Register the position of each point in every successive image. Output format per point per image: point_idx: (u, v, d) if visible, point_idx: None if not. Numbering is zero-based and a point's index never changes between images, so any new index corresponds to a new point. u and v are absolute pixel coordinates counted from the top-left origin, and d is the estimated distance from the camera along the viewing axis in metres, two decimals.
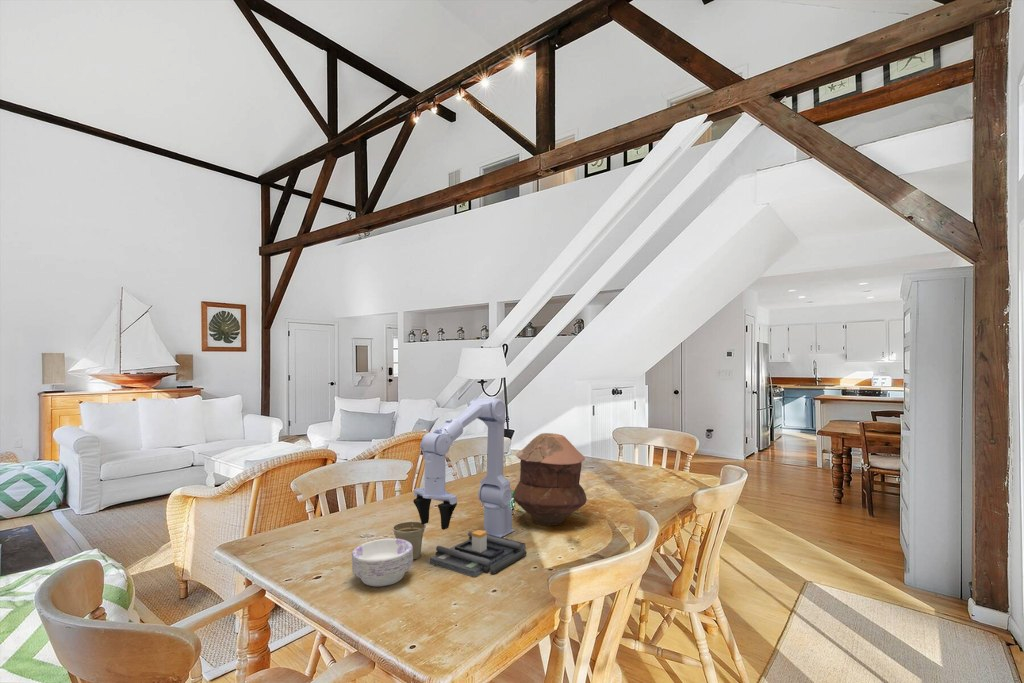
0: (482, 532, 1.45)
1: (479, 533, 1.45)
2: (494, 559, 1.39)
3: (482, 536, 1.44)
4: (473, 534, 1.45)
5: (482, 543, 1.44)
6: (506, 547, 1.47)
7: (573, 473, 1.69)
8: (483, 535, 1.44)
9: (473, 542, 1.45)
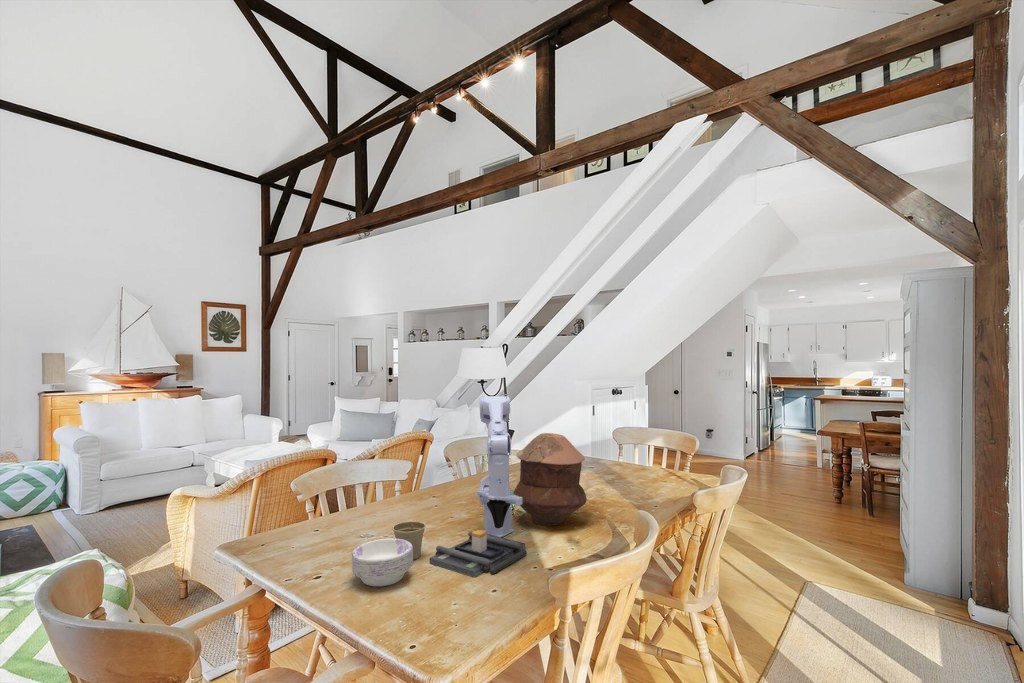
0: (482, 532, 1.45)
1: (479, 533, 1.45)
2: (494, 559, 1.39)
3: (482, 536, 1.44)
4: (473, 534, 1.45)
5: (482, 543, 1.44)
6: (506, 547, 1.47)
7: (573, 473, 1.69)
8: (483, 535, 1.44)
9: (473, 542, 1.45)
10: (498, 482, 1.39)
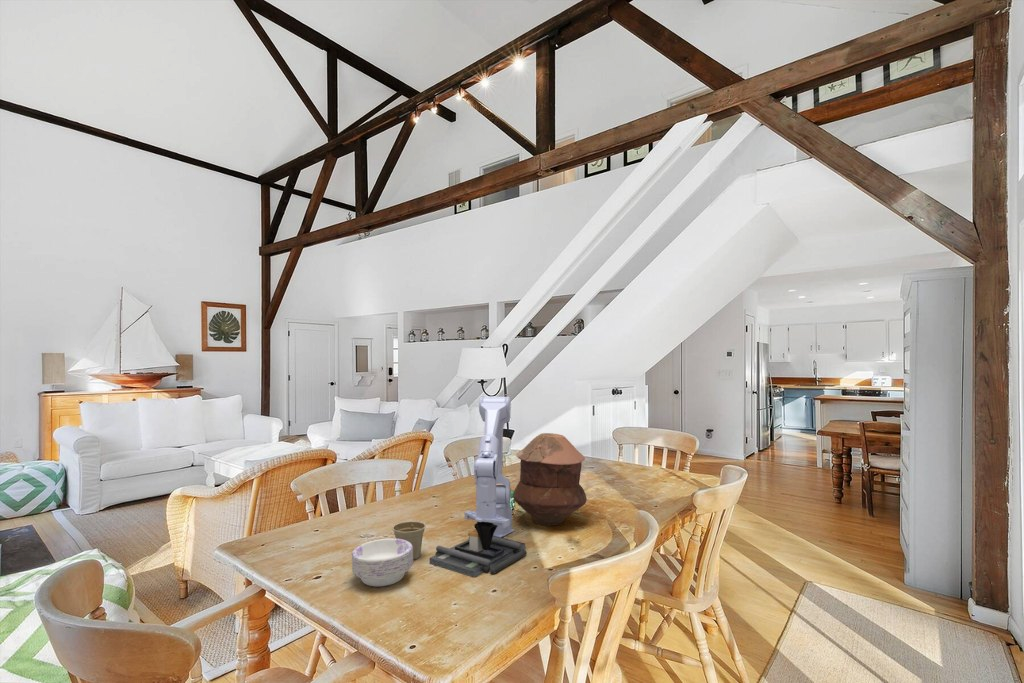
0: None
1: (477, 532, 1.45)
2: (494, 559, 1.39)
3: None
4: (471, 533, 1.45)
5: (480, 542, 1.45)
6: (506, 547, 1.47)
7: (573, 473, 1.69)
8: None
9: (471, 541, 1.45)
10: (485, 504, 1.41)
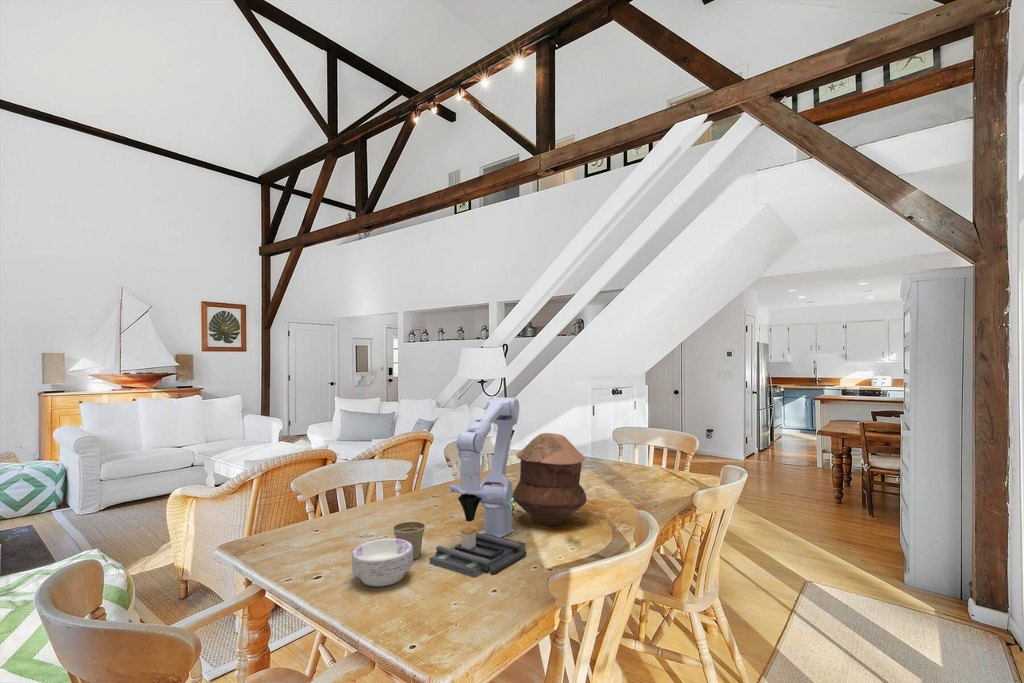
0: (471, 529, 1.48)
1: (468, 530, 1.47)
2: (494, 559, 1.39)
3: (471, 533, 1.46)
4: (462, 531, 1.47)
5: (471, 540, 1.47)
6: (506, 547, 1.47)
7: (573, 473, 1.69)
8: (472, 532, 1.47)
9: (462, 539, 1.47)
10: (469, 477, 1.45)
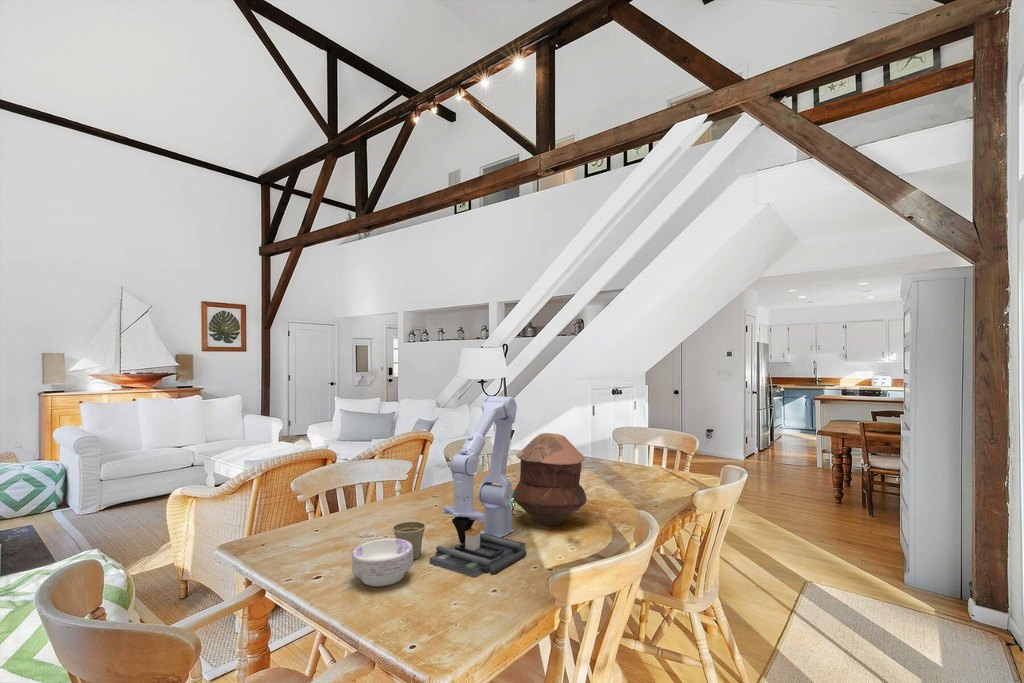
0: (475, 530, 1.47)
1: (472, 531, 1.46)
2: (494, 559, 1.39)
3: (475, 534, 1.45)
4: (466, 532, 1.46)
5: (476, 541, 1.46)
6: (506, 547, 1.47)
7: (573, 473, 1.69)
8: (476, 533, 1.46)
9: (466, 540, 1.46)
10: (462, 500, 1.46)
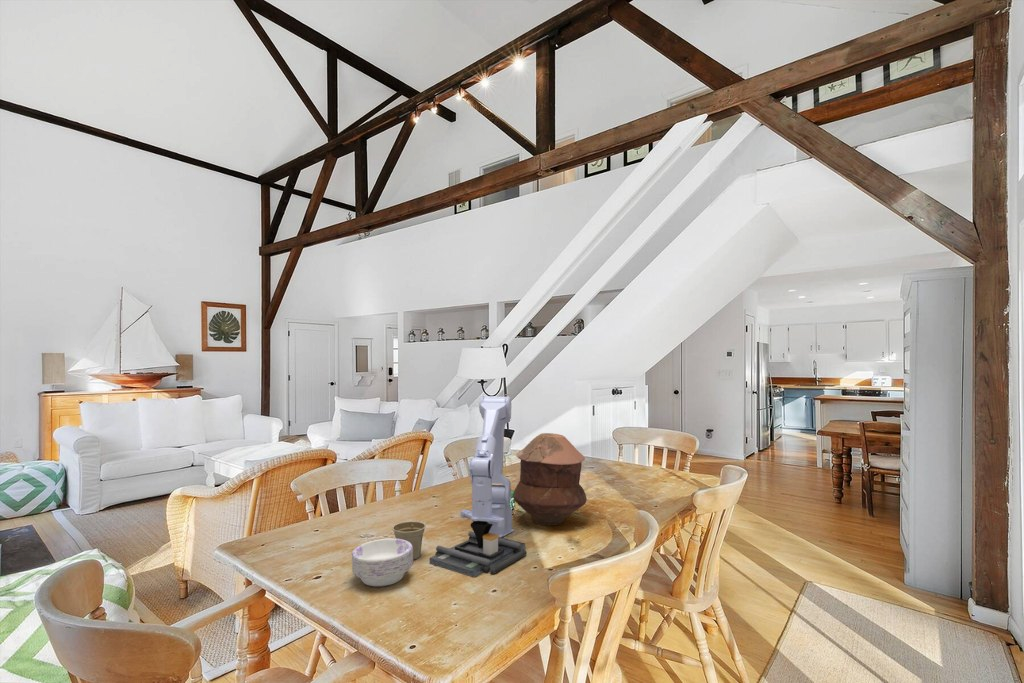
0: (493, 535, 1.43)
1: (490, 536, 1.42)
2: (494, 559, 1.39)
3: (493, 539, 1.42)
4: (484, 537, 1.42)
5: (494, 546, 1.42)
6: (506, 547, 1.47)
7: (573, 473, 1.69)
8: (494, 538, 1.42)
9: (484, 545, 1.42)
10: (481, 503, 1.42)
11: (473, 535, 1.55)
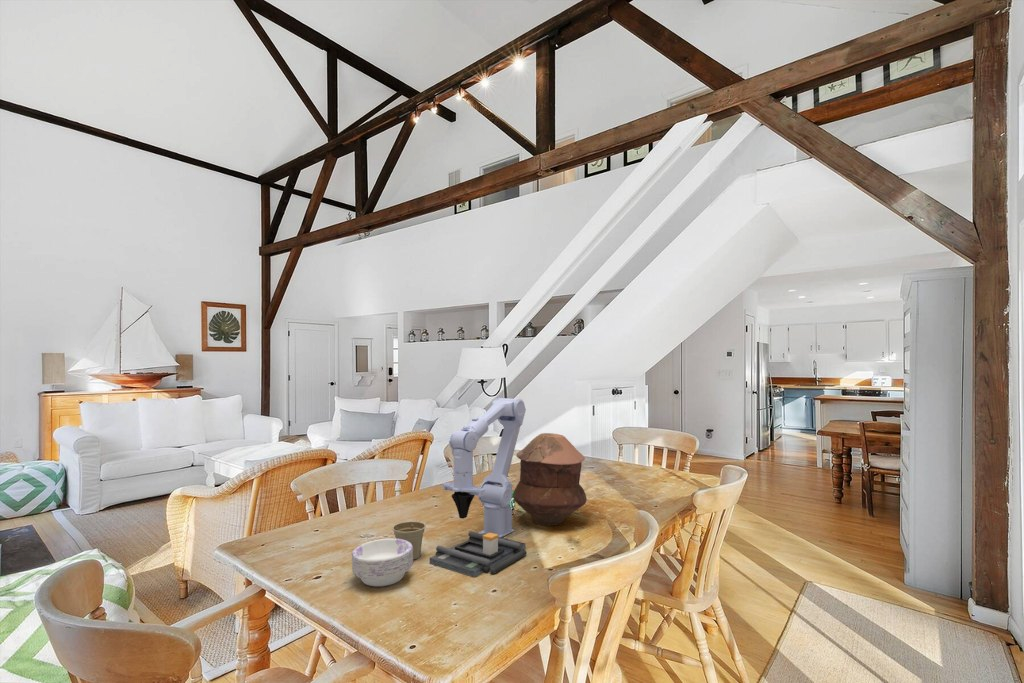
0: (493, 535, 1.43)
1: (490, 536, 1.42)
2: (494, 559, 1.39)
3: (493, 539, 1.42)
4: (484, 537, 1.42)
5: (494, 546, 1.42)
6: (506, 547, 1.47)
7: (573, 473, 1.69)
8: (494, 538, 1.42)
9: (484, 545, 1.42)
10: (462, 475, 1.48)
11: (473, 535, 1.55)
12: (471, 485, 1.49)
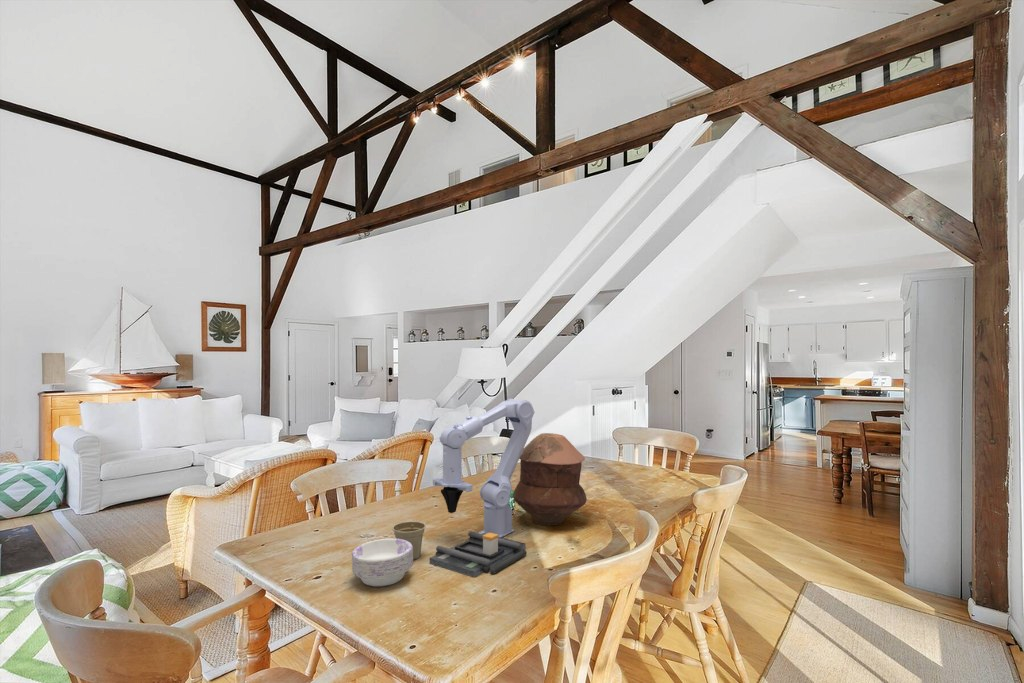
0: (493, 535, 1.43)
1: (490, 536, 1.42)
2: (494, 559, 1.39)
3: (493, 539, 1.42)
4: (484, 537, 1.42)
5: (494, 546, 1.42)
6: (506, 547, 1.47)
7: (573, 473, 1.69)
8: (494, 538, 1.42)
9: (484, 545, 1.42)
10: (450, 471, 1.53)
11: (473, 535, 1.55)
12: (459, 481, 1.54)
